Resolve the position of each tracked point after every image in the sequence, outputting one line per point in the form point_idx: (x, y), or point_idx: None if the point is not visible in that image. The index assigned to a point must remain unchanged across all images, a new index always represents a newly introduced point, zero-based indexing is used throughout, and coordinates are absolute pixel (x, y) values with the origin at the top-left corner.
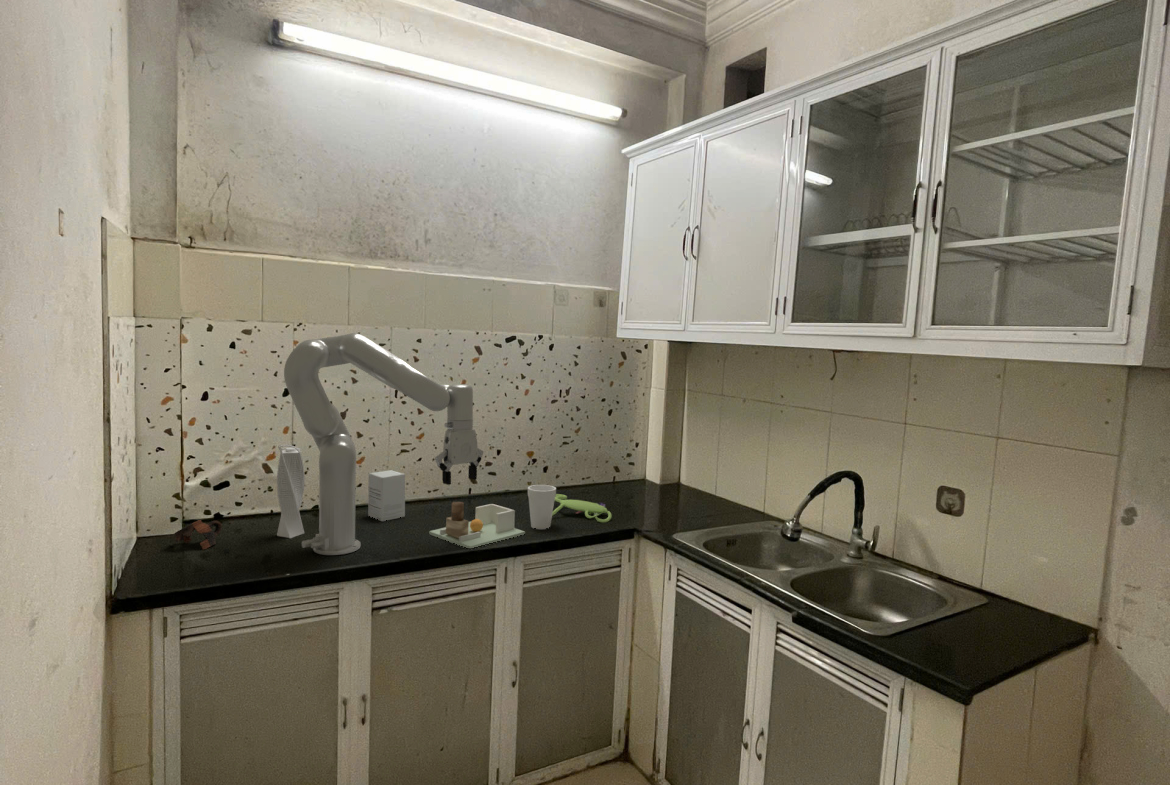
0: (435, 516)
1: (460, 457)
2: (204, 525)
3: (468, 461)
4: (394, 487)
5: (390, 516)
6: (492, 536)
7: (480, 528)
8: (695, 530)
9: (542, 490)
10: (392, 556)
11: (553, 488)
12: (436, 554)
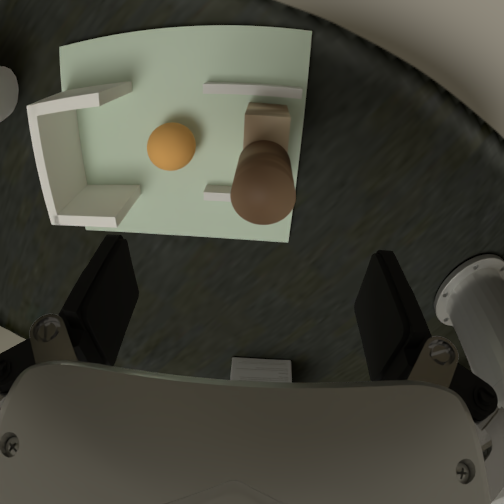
0: (174, 324)
1: (363, 476)
2: None
3: (181, 389)
4: None
5: (270, 365)
6: (170, 60)
7: (171, 122)
8: None
9: None
10: (474, 172)
11: None
12: (410, 87)
